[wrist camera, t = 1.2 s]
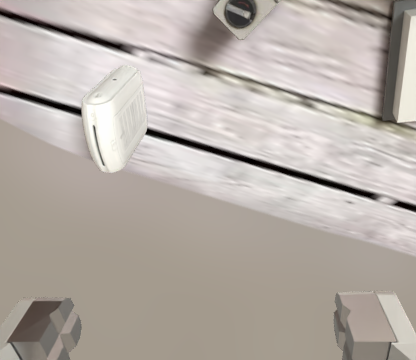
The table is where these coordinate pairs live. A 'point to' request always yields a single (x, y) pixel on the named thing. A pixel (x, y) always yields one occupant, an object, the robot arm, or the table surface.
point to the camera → (243, 14)
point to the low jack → (401, 64)
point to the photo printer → (115, 118)
